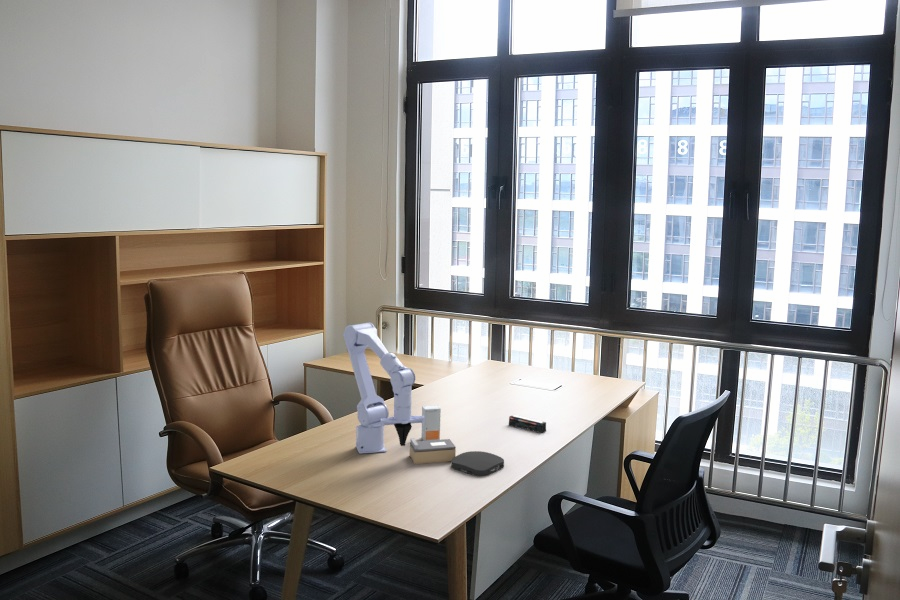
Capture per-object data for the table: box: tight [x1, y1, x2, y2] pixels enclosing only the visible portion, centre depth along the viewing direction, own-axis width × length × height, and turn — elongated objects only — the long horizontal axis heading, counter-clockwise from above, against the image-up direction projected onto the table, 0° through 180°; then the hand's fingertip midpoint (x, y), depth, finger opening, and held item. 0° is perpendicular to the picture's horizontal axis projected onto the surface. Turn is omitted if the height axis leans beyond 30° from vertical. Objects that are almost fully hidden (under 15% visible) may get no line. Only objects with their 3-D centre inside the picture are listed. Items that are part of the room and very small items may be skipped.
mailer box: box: [409, 444, 457, 465], centre depth 260 cm, size 14×8×4 cm, turn 105°
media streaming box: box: [450, 450, 505, 477], centre depth 254 cm, size 15×15×3 cm
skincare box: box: [421, 405, 441, 441], centre depth 279 cm, size 6×4×12 cm
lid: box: [409, 437, 457, 452], centre depth 260 cm, size 14×8×2 cm, turn 105°
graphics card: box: [508, 414, 547, 434], centre depth 296 cm, size 14×25×4 cm, turn 52°
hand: (402, 444), depth 257 cm, fingers closed
